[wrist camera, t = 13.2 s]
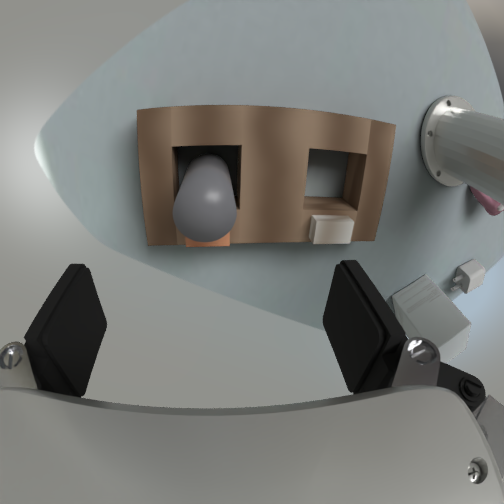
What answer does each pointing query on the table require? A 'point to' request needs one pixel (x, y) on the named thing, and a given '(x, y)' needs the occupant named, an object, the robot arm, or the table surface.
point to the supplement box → (432, 317)
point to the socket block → (267, 171)
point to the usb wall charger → (469, 276)
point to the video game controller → (488, 202)
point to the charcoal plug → (205, 200)
